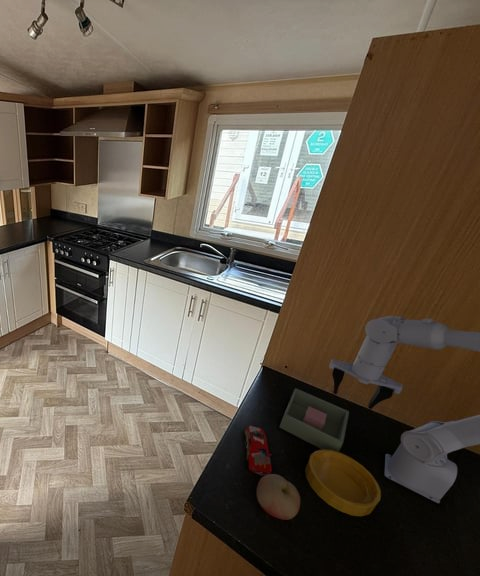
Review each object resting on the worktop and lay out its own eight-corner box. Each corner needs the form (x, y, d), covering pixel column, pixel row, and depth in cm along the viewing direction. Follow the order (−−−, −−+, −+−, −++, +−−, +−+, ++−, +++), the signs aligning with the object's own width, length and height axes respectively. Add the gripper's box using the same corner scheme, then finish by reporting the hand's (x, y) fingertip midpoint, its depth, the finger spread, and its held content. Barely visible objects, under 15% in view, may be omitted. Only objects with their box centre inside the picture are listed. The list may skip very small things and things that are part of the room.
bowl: (375, 484, 73) (382, 473, 71) (371, 532, 64) (379, 521, 63) (310, 450, 81) (315, 439, 79) (299, 488, 72) (304, 477, 70)
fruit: (286, 536, 64) (297, 514, 60) (247, 506, 69) (255, 484, 65) (299, 508, 68) (310, 485, 65) (261, 481, 74) (269, 459, 70)
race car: (271, 481, 74) (275, 471, 72) (246, 474, 75) (250, 463, 74) (264, 435, 85) (268, 425, 83) (242, 430, 86) (246, 420, 85)
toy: (321, 425, 87) (327, 414, 86) (319, 435, 85) (324, 424, 83) (304, 416, 90) (308, 405, 88) (300, 426, 87) (305, 415, 85)
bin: (342, 425, 88) (349, 411, 86) (335, 457, 79) (343, 443, 77) (290, 401, 96) (295, 388, 93) (278, 428, 87) (284, 414, 85)
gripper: (334, 354, 80) (318, 393, 86) (410, 381, 72) (386, 422, 78) (338, 342, 85) (322, 380, 91) (410, 366, 76) (387, 406, 82)
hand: (352, 399), depth 85 cm, fingers open, 7 cm apart
